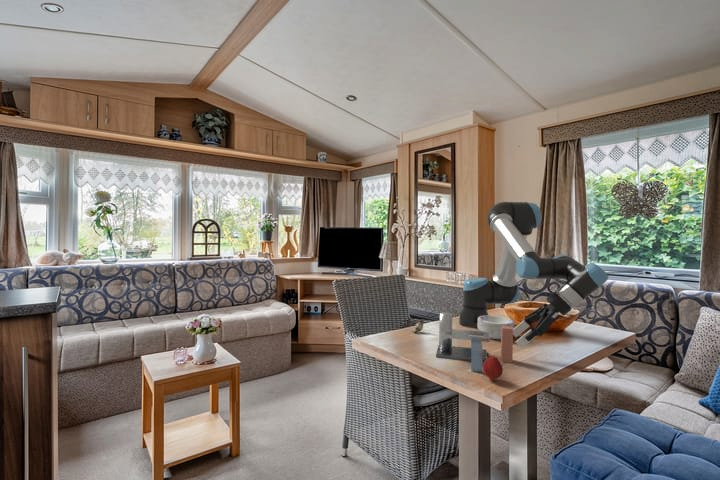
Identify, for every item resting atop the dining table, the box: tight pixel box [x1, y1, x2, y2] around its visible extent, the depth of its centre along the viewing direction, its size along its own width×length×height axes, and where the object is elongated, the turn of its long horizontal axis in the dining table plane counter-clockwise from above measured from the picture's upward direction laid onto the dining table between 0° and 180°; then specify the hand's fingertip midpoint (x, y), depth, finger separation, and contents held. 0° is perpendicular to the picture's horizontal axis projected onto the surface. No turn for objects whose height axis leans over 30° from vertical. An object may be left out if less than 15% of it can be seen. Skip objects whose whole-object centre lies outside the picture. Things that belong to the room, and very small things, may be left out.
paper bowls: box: [477, 314, 515, 340], centre depth 158 cm, size 15×15×8 cm
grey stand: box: [435, 311, 491, 373], centre depth 128 cm, size 18×22×15 cm
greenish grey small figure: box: [410, 319, 424, 335], centre depth 163 cm, size 5×5×6 cm
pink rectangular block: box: [500, 326, 514, 364], centre depth 127 cm, size 4×4×12 cm
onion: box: [482, 354, 504, 381], centre depth 110 cm, size 6×6×8 cm
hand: (515, 339), depth 125 cm, fingers open, 13 cm apart
